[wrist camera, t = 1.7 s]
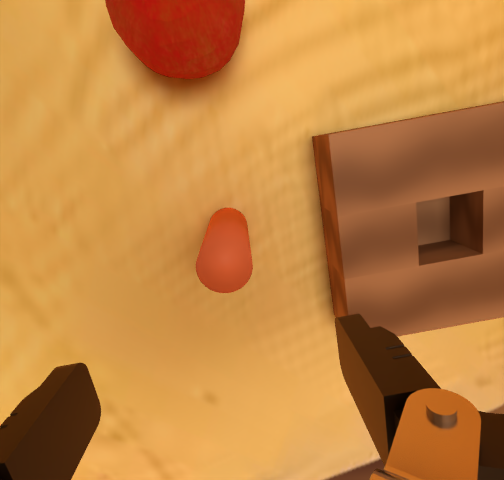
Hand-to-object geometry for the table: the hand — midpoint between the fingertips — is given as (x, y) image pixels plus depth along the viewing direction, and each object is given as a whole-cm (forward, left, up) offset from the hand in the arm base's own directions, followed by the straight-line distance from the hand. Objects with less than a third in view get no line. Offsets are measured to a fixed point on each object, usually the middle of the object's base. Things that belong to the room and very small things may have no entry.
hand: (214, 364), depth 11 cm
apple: (-15, 0, -19) cm, 24 cm away
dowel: (0, 0, -19) cm, 19 cm away
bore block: (+2, +16, -19) cm, 25 cm away
